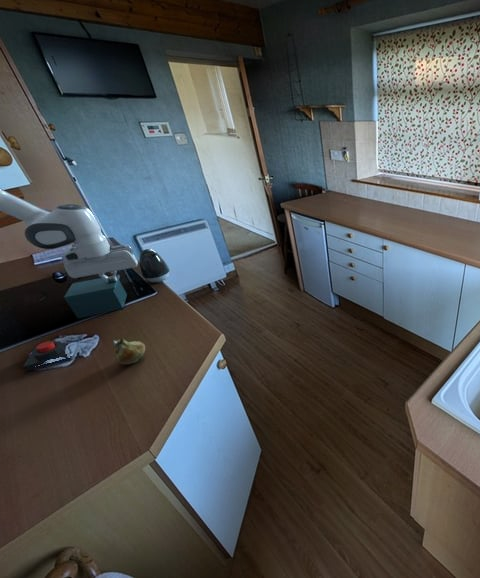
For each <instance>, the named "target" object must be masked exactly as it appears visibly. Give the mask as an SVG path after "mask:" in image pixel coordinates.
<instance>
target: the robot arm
mask: <svg viewBox="0 0 480 578" xmlns="http://www.w3.org/2000/svg"><path fill="white" fill-rule="evenodd" d="M0 212H2V213H4V214H7V215H9V216H11V217H13V218H15V219H18V220H20V221H23V222H25V223H26V224H27V226H26V227H25V230H24V237H25V239H26V241H28V242H29V244H31V245H33V246H34V247H37V248H40V249H43V250H55V249H57V248H63V247H66V246H69V245H71V244H73V245H74V246H73V247H70V248H67V249H66V250H65V251H64V252H63V253H62V255H61V259H62V260H63V261H64V262H63V267H64V269H65V272H66V273H67V276H68V277H70V278H72V279H78V278H84V277H89V276H94V275H98V277H99V278H103V279H105V280H106V282H107V283H110V282H115V281H117V278H116V275H117V272H118V271H123V270H128V269H129V270H130V269H134V268H137V267H138V265H139V260H138V259H137V257H136V255H135V254H134V250H133V248H132V247H131V246H130V245H126V244H121V245H113V246H111V245H110V243H109V241H108V239H107V237H106V236H105V235H104V233H102V229H101V225H100V224H99V222H98V220H97V218H96V217H95V216H94V214H93V213H92V211H91V210H90V209H89V208H88V207H86V206H83V205H81V204H74V203H73V204H72V203H71V204H61V205H57V207H56V208H55V209H53V210H50V209H47V208H43V207H40V206H38V205H35V204H33V203H31V202H29V201H27V200H26V199H23V198H21V197H19V196H17V195H15V194H13V193H10V192H9V191H6V190H4V189H2V188H0ZM106 273H110V274H111V276H112V277H110V276H107V275H106Z"/></svg>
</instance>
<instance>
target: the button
mask: <svg viewBox="0 0 480 578" xmlns="http://www.w3.org/2000/svg"><path fill="white" fill-rule="evenodd" d="M55 347H56V346H55V344H54V343H53V341H52V340H47V341H44V342H41V343H40V344H38V345H37V346H36V347H35V349H37V350H38V351H39V352H40V353H44V352H48V351H50V350H52V349H53V348H55Z"/></svg>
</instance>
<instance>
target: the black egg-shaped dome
mask: <svg viewBox="0 0 480 578" xmlns="http://www.w3.org/2000/svg"><path fill="white" fill-rule="evenodd" d="M139 268H140V272H141V275H142V277H143V278H144V279H145V280H147V281H148V282H150V283H161V282H164V281H166V280H168V278H169V277H170V268H169V265H168V264H167V263H166V261H165V260H164V258H162V256H161V255H160V254H159V253H158V252H156V251H155V250H153V249H150V248H146V249H143V250H142V251H140V254H139Z"/></svg>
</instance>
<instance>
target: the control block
mask: <svg viewBox="0 0 480 578" xmlns="http://www.w3.org/2000/svg"><path fill="white" fill-rule="evenodd" d="M74 340H75V339H73V341H74ZM71 341H72V340H70V341H65V342H66V343H67V342H71ZM52 342H53V343H54V344H55V346H56V347H55V348H53V349H52V350H50V351H48V352H44V353H40V352H39V351H38V350H37V349H36V348H34V349H33V350H32V352H30V355H29V356H28V358H27V359H26V361H25V362H24V364H23V365H22V366H23V367H22V368H23V369H24V370H25V371H26V372H32V371H36V370H39V369H43V368H46V367H50V366H54V365H58V364H61V363H66V362H68V361H72V360H73V358H74V356H75V354H74V355H73V356H70V358H66V359H62V360H59V361H55V362H52V363H47V364H44V365H41V364H43V363H44V362H45V361H47V360H50V359H56V358H59V357H66V356H67V354H65V352H64V349H65V347H66V344H65V343H64V342H62V341H60V340H53V341H52ZM38 365H40V366H38ZM35 366H36V367H35Z"/></svg>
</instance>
